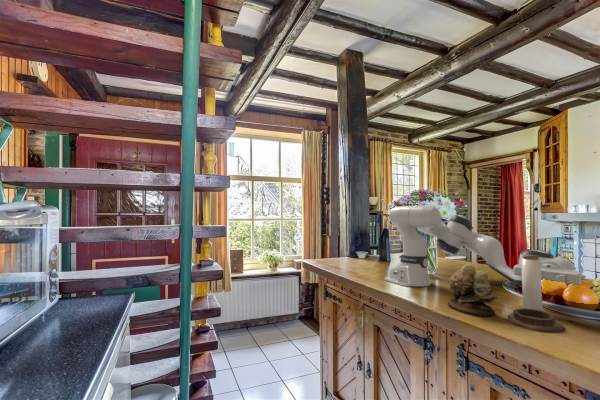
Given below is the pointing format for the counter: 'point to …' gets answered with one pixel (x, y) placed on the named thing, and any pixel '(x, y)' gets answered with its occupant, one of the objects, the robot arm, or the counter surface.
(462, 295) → the owl figurine
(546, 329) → the groove tray
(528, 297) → the off-white tall cylinder
